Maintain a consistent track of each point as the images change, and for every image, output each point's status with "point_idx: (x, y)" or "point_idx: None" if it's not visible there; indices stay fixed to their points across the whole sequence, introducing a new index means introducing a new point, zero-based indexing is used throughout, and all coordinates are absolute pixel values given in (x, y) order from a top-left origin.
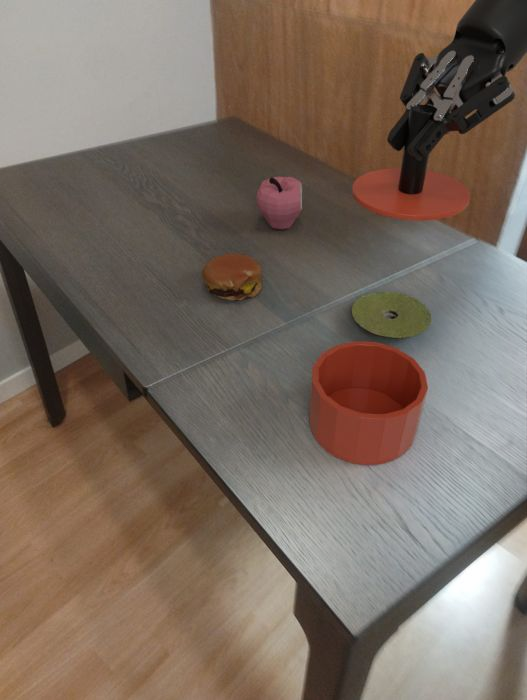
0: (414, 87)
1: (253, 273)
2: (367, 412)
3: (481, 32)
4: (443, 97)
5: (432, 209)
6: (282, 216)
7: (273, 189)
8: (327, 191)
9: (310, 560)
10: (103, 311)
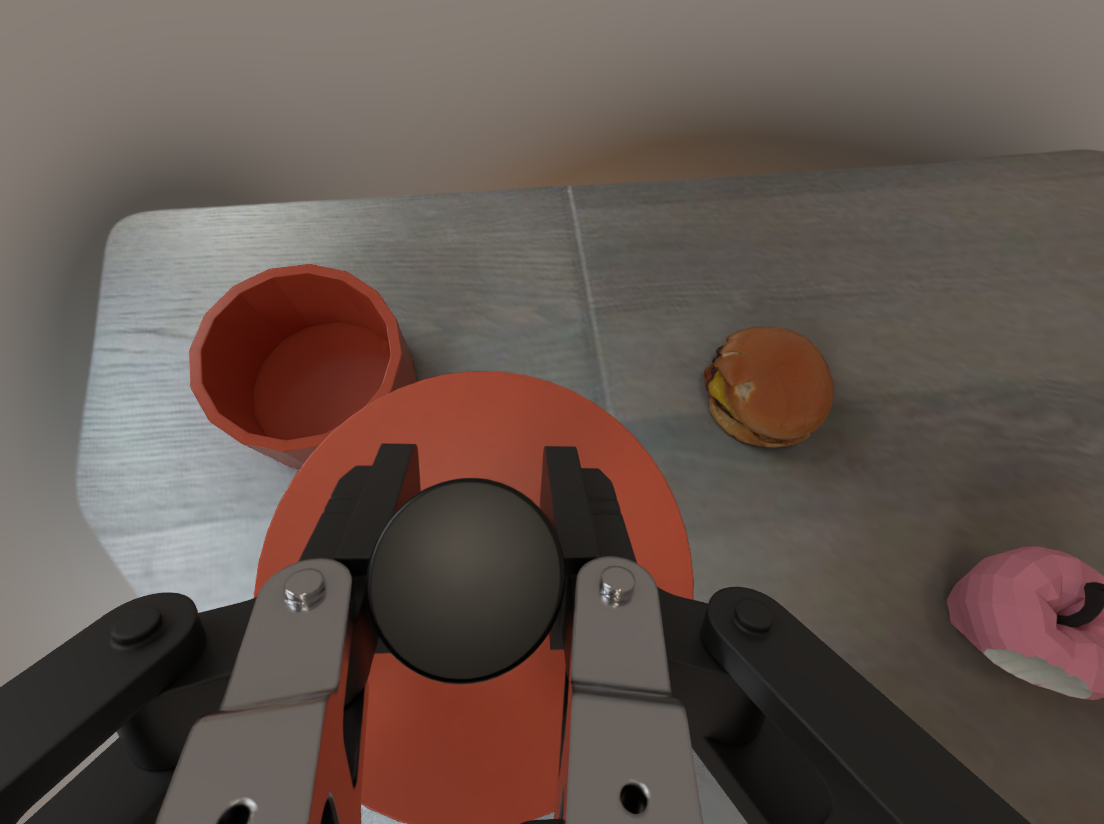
0: (786, 732)
1: (738, 398)
2: (340, 406)
3: None
4: (334, 694)
5: (310, 528)
6: (964, 589)
7: (1068, 593)
8: None
9: (205, 221)
10: (767, 195)
